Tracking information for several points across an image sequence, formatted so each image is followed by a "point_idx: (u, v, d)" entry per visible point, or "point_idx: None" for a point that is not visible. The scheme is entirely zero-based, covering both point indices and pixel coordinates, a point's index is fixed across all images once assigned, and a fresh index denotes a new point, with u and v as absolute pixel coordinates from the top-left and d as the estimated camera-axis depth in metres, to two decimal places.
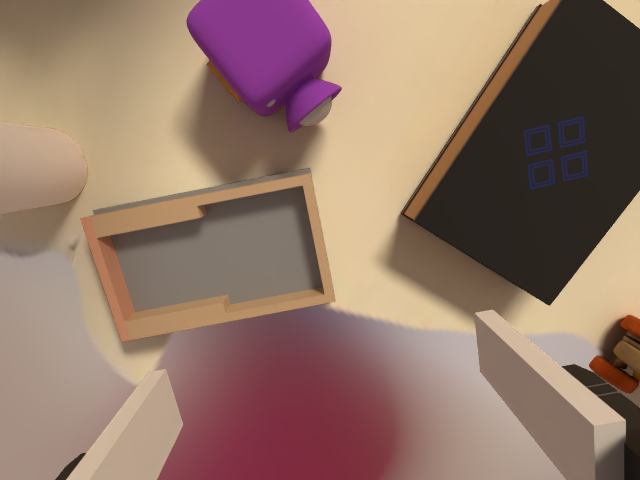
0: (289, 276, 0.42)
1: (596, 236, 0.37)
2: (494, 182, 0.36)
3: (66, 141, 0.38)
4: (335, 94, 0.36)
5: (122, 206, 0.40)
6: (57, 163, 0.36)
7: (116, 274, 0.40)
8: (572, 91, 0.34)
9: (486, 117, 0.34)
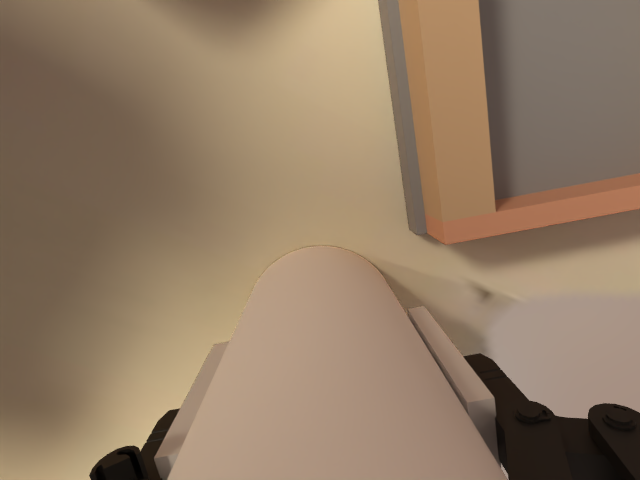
0: None
1: None
2: None
3: (270, 270, 0.18)
4: None
5: (412, 168, 0.17)
6: (315, 272, 0.15)
7: (579, 189, 0.17)
8: None
9: None
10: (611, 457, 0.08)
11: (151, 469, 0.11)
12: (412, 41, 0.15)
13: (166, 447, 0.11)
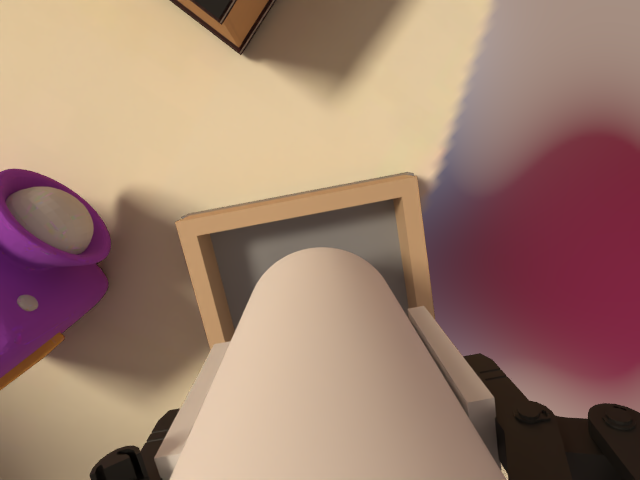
0: (369, 252, 0.24)
1: None
2: None
3: (271, 272, 0.18)
4: (34, 178, 0.20)
5: None
6: (315, 274, 0.15)
7: None
8: None
9: None
10: (611, 457, 0.08)
11: (151, 469, 0.11)
12: None
13: (166, 447, 0.11)
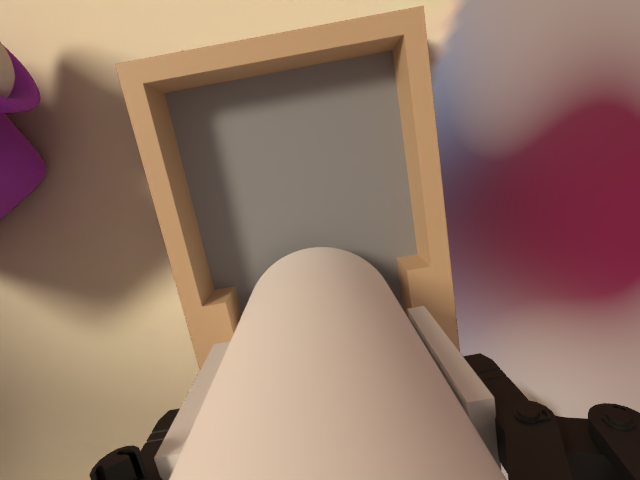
0: (363, 129, 0.20)
1: None
2: None
3: (271, 271, 0.18)
4: None
5: None
6: (315, 274, 0.15)
7: None
8: None
9: None
10: (611, 457, 0.08)
11: (151, 469, 0.11)
12: None
13: (166, 447, 0.11)
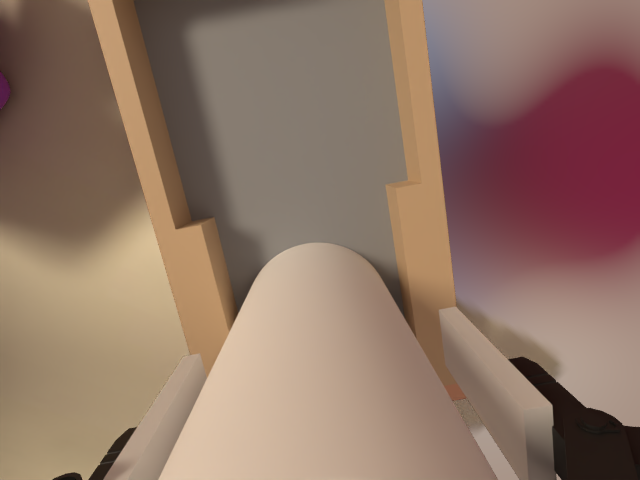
0: (348, 40, 0.18)
1: None
2: None
3: (269, 265, 0.19)
4: None
5: None
6: (311, 266, 0.16)
7: None
8: None
9: None
10: None
11: None
12: None
13: (114, 473, 0.10)
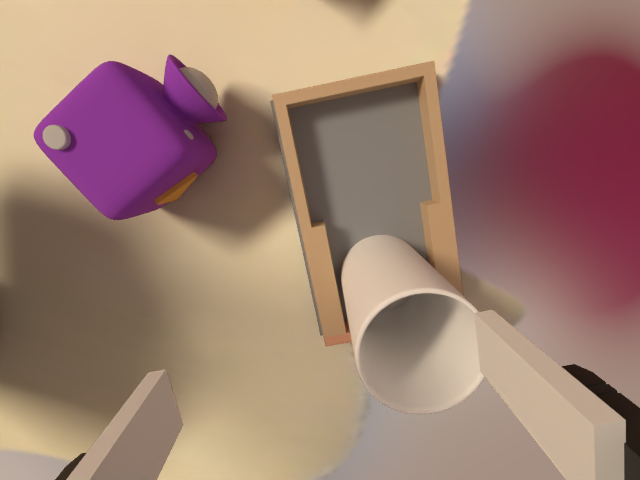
0: (400, 126, 0.35)
1: None
2: None
3: (357, 247, 0.35)
4: (182, 65, 0.31)
5: (316, 307, 0.38)
6: (386, 245, 0.32)
7: None
8: None
9: None
10: None
11: None
12: None
13: None
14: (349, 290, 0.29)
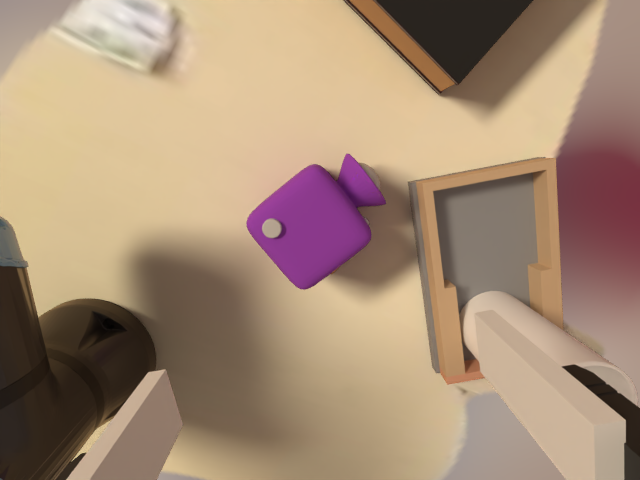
0: (516, 204, 0.42)
1: None
2: None
3: (478, 303, 0.42)
4: None
5: (434, 349, 0.45)
6: (512, 306, 0.39)
7: None
8: None
9: None
10: None
11: None
12: (436, 315, 0.43)
13: None
14: None
